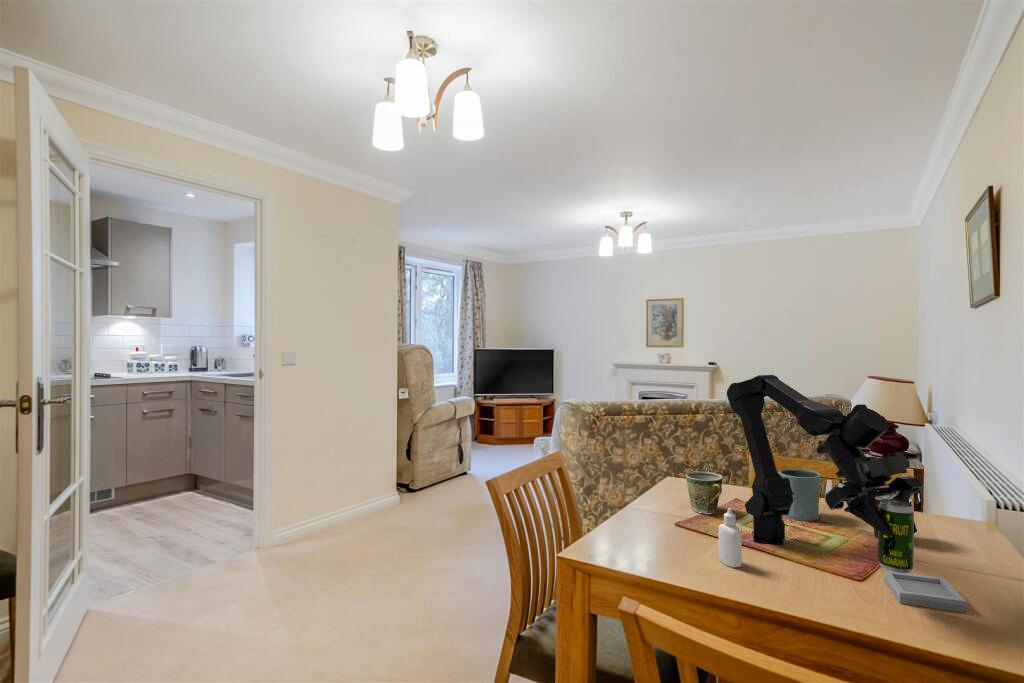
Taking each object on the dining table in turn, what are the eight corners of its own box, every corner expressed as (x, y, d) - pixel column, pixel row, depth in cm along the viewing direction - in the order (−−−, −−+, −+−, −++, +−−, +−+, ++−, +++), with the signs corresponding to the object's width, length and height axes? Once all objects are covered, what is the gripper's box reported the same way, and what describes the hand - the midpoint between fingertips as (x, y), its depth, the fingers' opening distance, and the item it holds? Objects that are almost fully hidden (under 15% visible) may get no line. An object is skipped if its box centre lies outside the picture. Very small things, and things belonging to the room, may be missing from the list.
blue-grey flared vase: (828, 522, 144) (828, 477, 144) (790, 522, 145) (790, 477, 145) (808, 510, 155) (808, 468, 155) (772, 510, 155) (772, 468, 155)
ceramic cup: (679, 506, 158) (678, 472, 158) (709, 504, 161) (709, 470, 161) (705, 521, 146) (704, 484, 146) (737, 518, 148) (737, 481, 148)
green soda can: (877, 559, 104) (877, 497, 104) (911, 565, 101) (912, 501, 101) (878, 569, 99) (879, 504, 99) (915, 576, 97) (915, 509, 96)
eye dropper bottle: (739, 559, 121) (738, 505, 121) (742, 569, 115) (742, 513, 115) (718, 557, 122) (717, 504, 122) (720, 567, 117) (720, 511, 117)
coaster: (900, 603, 100) (899, 592, 100) (884, 580, 110) (884, 570, 110) (966, 612, 97) (966, 601, 97) (944, 588, 106) (943, 578, 106)
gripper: (837, 440, 101) (893, 518, 91) (913, 435, 106) (974, 508, 96) (804, 472, 109) (851, 547, 99) (876, 465, 114) (929, 536, 104)
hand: (902, 534), depth 99 cm, fingers closed on green soda can, 5 cm apart
